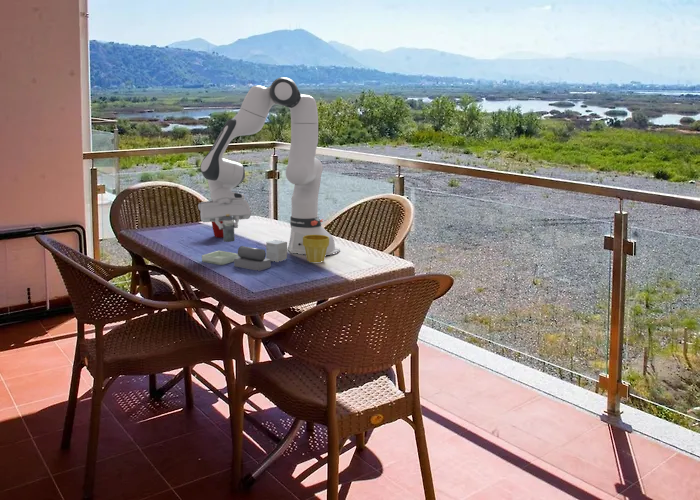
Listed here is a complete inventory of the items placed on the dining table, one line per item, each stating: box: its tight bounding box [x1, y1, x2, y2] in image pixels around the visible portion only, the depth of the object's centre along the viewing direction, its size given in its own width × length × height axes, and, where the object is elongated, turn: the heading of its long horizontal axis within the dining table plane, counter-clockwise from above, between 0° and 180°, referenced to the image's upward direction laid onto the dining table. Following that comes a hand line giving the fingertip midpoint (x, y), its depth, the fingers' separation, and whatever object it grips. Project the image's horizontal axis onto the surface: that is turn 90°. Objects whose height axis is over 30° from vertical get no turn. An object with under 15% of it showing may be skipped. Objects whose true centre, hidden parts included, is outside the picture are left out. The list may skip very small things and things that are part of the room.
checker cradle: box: [233, 245, 272, 272], centre depth 256 cm, size 12×7×7 cm, turn 60°
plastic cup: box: [211, 221, 224, 239], centre depth 307 cm, size 11×11×12 cm
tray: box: [201, 250, 239, 266], centre depth 264 cm, size 10×10×2 cm
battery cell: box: [222, 214, 236, 243], centre depth 271 cm, size 4×4×11 cm
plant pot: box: [303, 235, 329, 263], centre depth 266 cm, size 10×10×10 cm
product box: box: [265, 239, 288, 263], centre depth 267 cm, size 6×6×7 cm
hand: (228, 227), depth 270 cm, fingers closed on battery cell, 4 cm apart
